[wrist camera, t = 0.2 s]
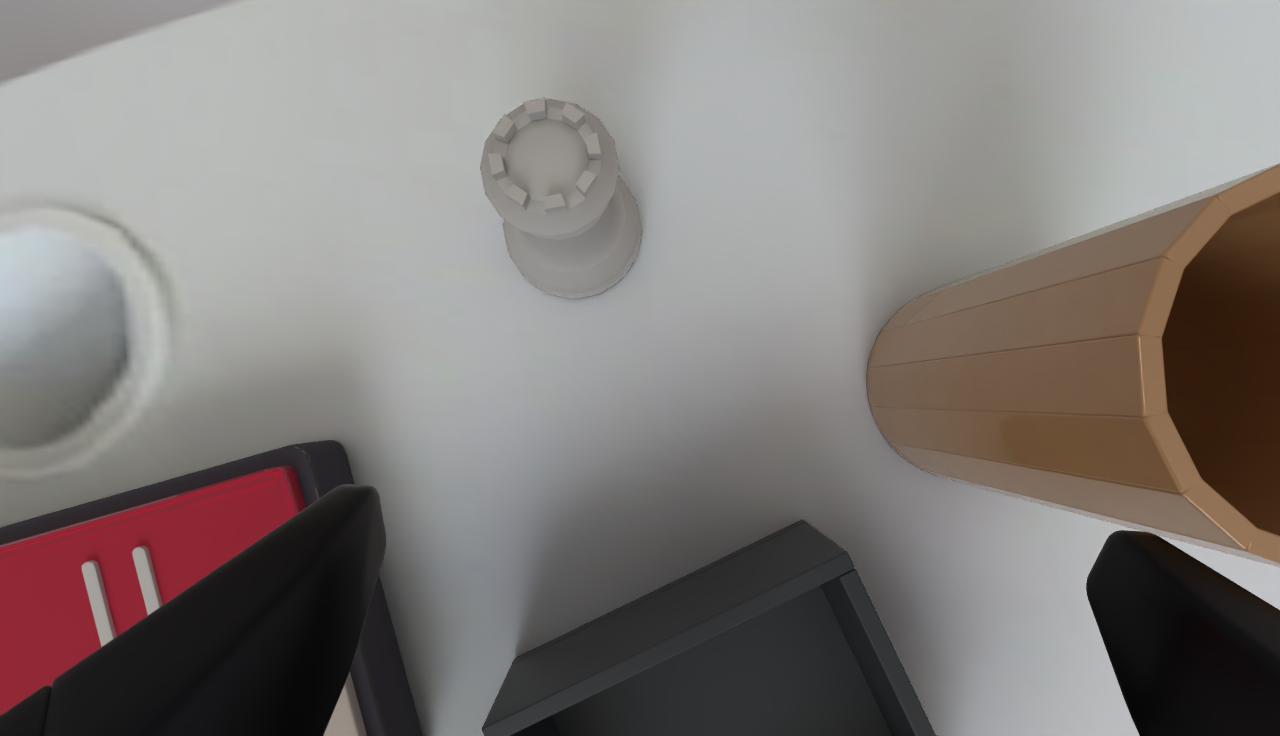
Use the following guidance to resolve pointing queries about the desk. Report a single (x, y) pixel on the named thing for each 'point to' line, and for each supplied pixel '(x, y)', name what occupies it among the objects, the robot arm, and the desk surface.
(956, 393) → the wooden cup
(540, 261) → the rook chess piece
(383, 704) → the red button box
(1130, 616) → the robot arm
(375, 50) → the desk surface
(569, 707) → the bin
